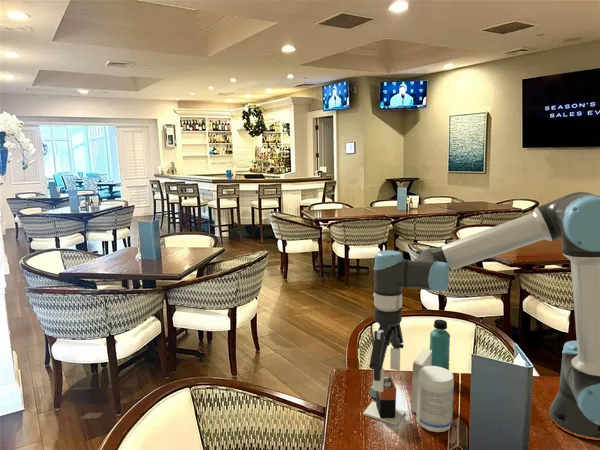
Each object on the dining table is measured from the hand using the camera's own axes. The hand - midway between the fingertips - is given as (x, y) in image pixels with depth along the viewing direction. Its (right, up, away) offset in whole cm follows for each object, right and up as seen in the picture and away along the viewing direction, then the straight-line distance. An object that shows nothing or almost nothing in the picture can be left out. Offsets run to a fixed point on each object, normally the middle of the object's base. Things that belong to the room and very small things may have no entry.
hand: (387, 379), depth 126 cm
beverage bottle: (+21, -7, +22) cm, 31 cm away
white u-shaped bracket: (+11, -10, +7) cm, 17 cm away
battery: (0, -10, +2) cm, 10 cm away
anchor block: (0, -9, +14) cm, 16 cm away
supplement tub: (+12, -11, -2) cm, 17 cm away
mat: (0, -11, +2) cm, 11 cm away
